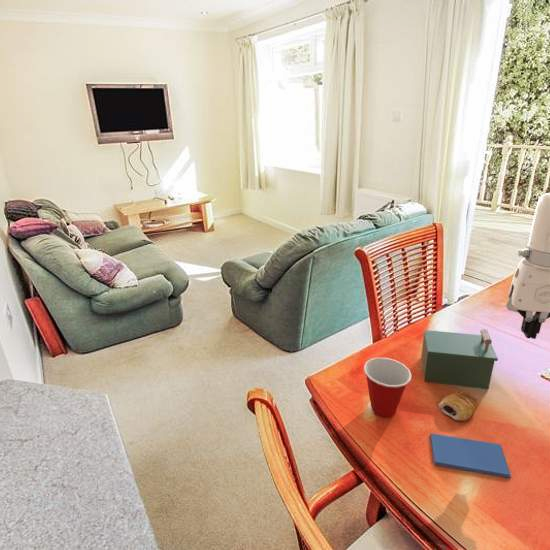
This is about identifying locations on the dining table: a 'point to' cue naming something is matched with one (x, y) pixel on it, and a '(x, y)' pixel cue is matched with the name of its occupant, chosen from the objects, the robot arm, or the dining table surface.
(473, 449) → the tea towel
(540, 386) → the dining table surface
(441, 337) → the bread bin lid
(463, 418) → the pastry
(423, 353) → the bin
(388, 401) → the plastic cup
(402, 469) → the dining table surface
